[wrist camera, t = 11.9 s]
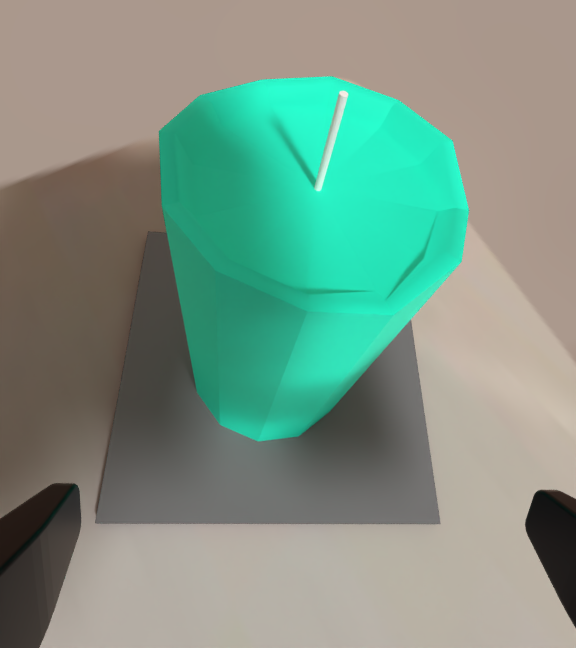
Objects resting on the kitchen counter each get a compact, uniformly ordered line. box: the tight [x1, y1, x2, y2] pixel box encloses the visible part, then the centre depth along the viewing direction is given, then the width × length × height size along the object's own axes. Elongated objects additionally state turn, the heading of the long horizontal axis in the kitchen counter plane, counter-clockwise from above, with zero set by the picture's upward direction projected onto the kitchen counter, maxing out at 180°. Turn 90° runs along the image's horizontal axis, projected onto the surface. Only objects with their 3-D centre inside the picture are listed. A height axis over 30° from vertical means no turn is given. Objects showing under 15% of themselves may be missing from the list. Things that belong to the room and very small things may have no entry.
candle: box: [159, 76, 469, 441], centre depth 12 cm, size 6×6×12 cm
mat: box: [95, 231, 440, 524], centre depth 17 cm, size 12×12×1 cm
